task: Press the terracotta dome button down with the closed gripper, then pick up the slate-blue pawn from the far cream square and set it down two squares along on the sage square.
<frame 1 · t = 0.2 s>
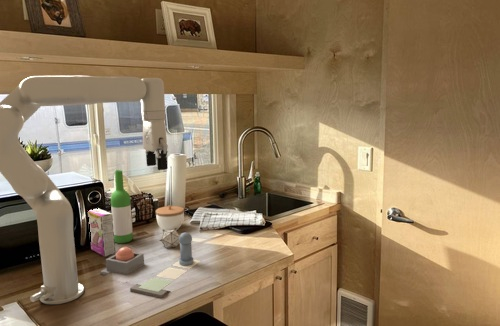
hand: (156, 167, 139), 36 cm above the worktop, tool pointing down, fingers open, 9 cm apart
dome button: (124, 255, 145), point 6 cm above the worktop, slide at 0.0 cm
pawn: (186, 262, 148), point 1 cm above the worktop, touching track board
track board: (172, 276, 140), on the worktop
button housing: (125, 270, 146), on the worktop
game die: (171, 249, 165), on the worktop
candy bar box: (102, 252, 163), on the worktop
lidded bowl: (170, 229, 189), on the worktop
wine bottle: (123, 241, 175), on the worktop
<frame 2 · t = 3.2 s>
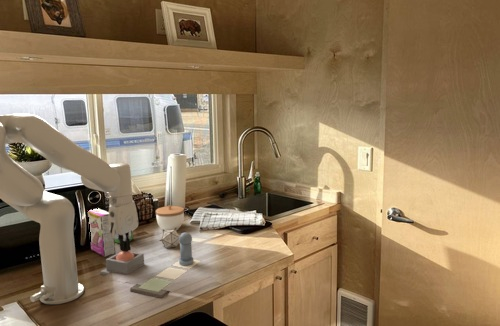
hand: (125, 250, 145), 7 cm above the worktop, tool pointing down, fingers closed
dome button: (125, 258, 145), point 4 cm above the worktop, slide at 1.1 cm, touching gripper
everything else where it was.
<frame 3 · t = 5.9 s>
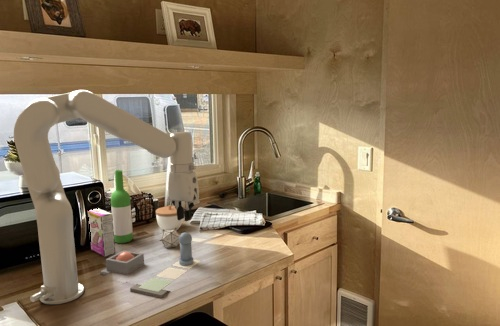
hand: (184, 219, 145), 17 cm above the worktop, tool pointing down, fingers closed
dome button: (125, 259, 145), point 4 cm above the worktop, slide at 1.7 cm, touching button housing
everything else where it was.
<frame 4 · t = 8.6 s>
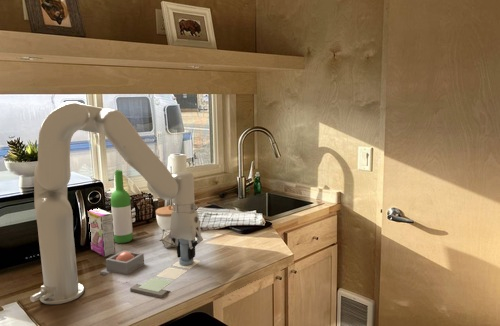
hand: (186, 256, 148), 4 cm above the worktop, tool pointing down, fingers closed on pawn, 4 cm apart
pawn: (186, 262, 148), point 1 cm above the worktop, touching gripper, track board
everything else where it was.
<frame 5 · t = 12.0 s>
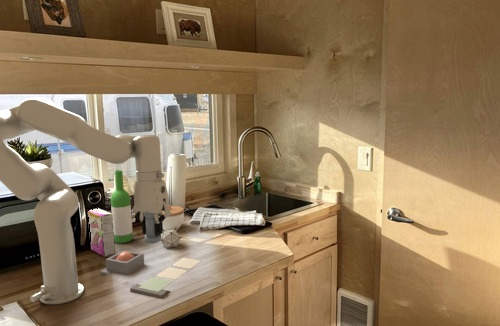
hand: (152, 233, 129), 18 cm above the worktop, tool pointing down, fingers closed on pawn, 4 cm apart
pawn: (153, 240, 129), point 16 cm above the worktop, touching gripper
everything else where it was.
when the fingers open (4 cm above the worktop, at t = 15.3 s): pawn stays where it is, resting on track board.
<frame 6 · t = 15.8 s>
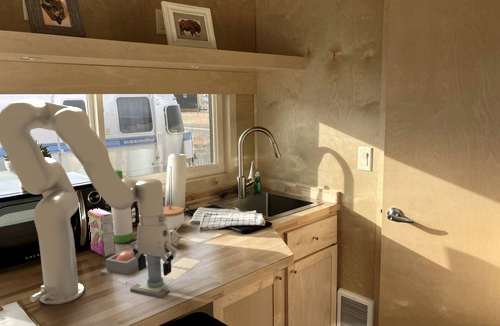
hand: (154, 271, 131), 5 cm above the worktop, tool pointing down, fingers open, 9 cm apart
pawn: (155, 284, 132), point 1 cm above the worktop, touching track board
everything else where it was.
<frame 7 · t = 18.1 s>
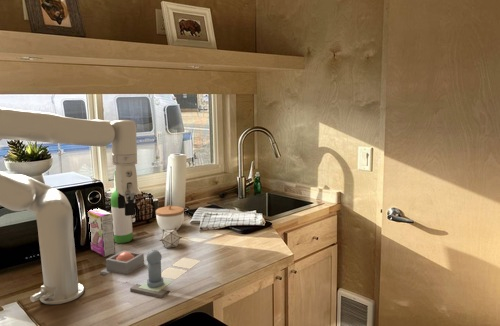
hand: (126, 211, 134), 23 cm above the worktop, tool pointing down, fingers open, 9 cm apart
nothing on the worktop moved.
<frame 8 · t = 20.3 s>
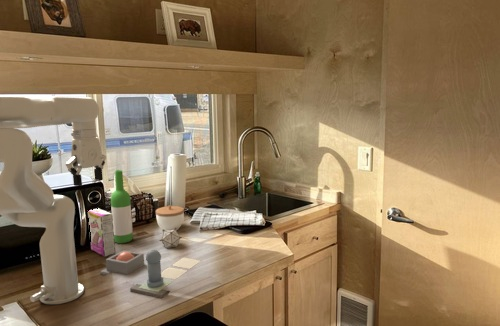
hand: (88, 182, 146), 30 cm above the worktop, tool pointing down, fingers open, 9 cm apart
nothing on the worktop moved.
at the end: pawn inside the target area (0.0 cm from its centre), point 1.1 cm above the worktop; pawn tilted 1°; dome button slide at 1.7 cm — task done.
